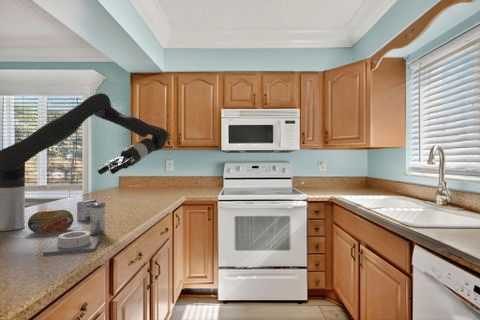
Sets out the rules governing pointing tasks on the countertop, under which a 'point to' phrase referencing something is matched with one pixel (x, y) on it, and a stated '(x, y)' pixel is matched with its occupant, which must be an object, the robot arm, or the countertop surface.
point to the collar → (73, 243)
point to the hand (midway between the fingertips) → (104, 172)
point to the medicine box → (84, 209)
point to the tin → (50, 221)
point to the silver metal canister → (97, 218)
